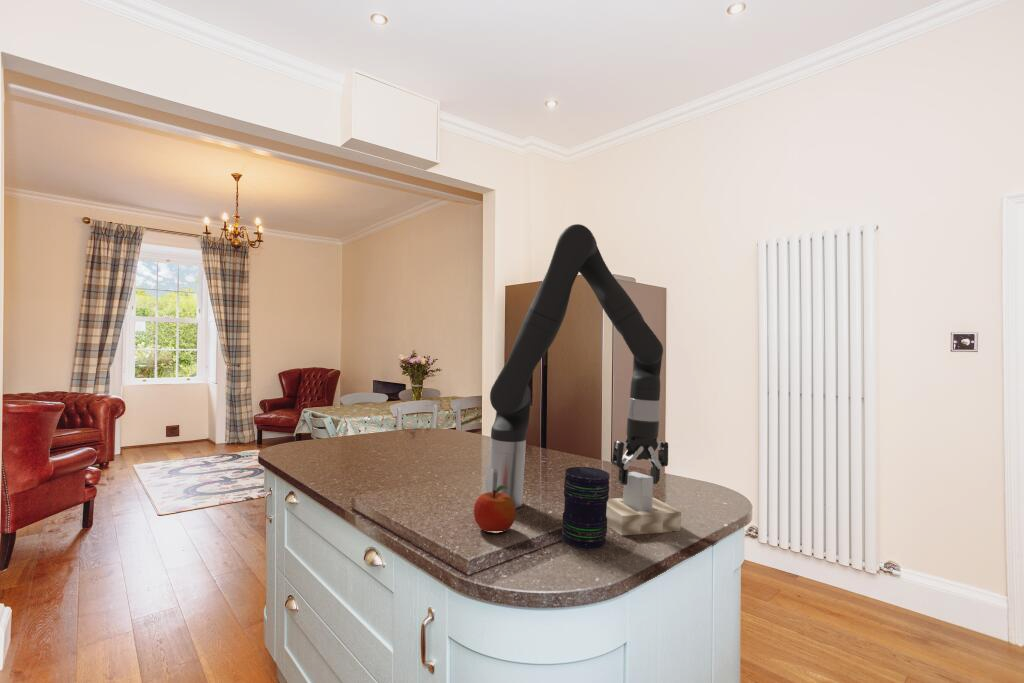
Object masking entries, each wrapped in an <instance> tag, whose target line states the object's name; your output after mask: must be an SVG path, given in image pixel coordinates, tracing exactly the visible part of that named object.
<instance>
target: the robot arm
mask: <svg viewBox="0 0 1024 683" xmlns="http://www.w3.org/2000/svg"><path fill="white" fill-rule="evenodd" d="M579 273H580V275H581V276H582V277H583V279H584V280H585V282H587V284H588V285H589V287H590V288H591V290H592V291H593V293H594V295H595V297H596V298H597V301H598V302H599V304H600V306H601V308H602V310H603V311H604V312H605V314H606V316H607V317H608V318H609V321H610V322H611V323H612V325H613V326H614V327H615V329H616V331H617V332H618V333H619V335H621V337H622V338H623V340H624V342H625V344H626V346H627V348H628V349H629V350H630V352H631V354H632V355H633V359H632V360H633V363H632V365H633V366H632V367H633V368H632V378H631V383H630V389H629V390H630V391H629V393H630V395H629V403H628V407H627V422H626V440H625V441H622V440H621V441H620V440H618V439H616V440H615V441H614V442H613V452H612V458H611V459H612V460H611V464H612V465H614V466H616V467H617V468H618V481H619V484H622V485H623V486H624V485H627V479H628V472H629V469H628V468H630V466H631V464H632V463H634V462H635V461H636V460H637V461H638V460H639V461H640V460H646V461H649V462H650V464H651V467H650V475H649V476H651V477H653V485H658V484H659V481H660V476H661V469H662V468H663V467H668V465H669V443H668V442H667V441H664V440H661V439H660V440H659V441H658V437H659V430H660V429H659V428H660V415H661V407H660V405H661V404H660V403H661V402H660V397H661V371H662V370H661V369H662V361H663V354H664V347H663V344H662V342H661V340H660V339H659V338H658V337H657V335H656V334H655V332H654V331H653V330H652V329H651V327H650V326H649V325H648V324H647V322H646V321H645V319H644V317H643V315H642V314H641V311H639V310H640V309H638V307H637V305H636V304H635V303H634V301H633V299H632V298H631V297H630V295H629V294H628V293H627V291H626V290H625V289H624V288H623V286H622V285H621V284H620V282H618V280H617V279H616V278H615V276H614V274H612V272H611V271H610V269H609V267H608V266H607V264H606V262H605V261H604V257H603V255H602V254H601V251H600V250H599V247H598V244H597V240H596V238H595V236H594V234H593V232H592V231H591V230H590V229H589V228H588V227H587V226H585V225H584V224H581V223H580V224H578V223H577V224H572V225H569V226H568V227H566V228H564V230H563V231H562V232H561V233H560V234H559V237H558V239H557V242H556V245H555V248H554V251H553V254H552V257H551V260H550V263H549V266H548V269H547V272H546V273H545V275H544V277H543V280H542V281H541V283H540V285H539V287H538V288H537V291H536V293H535V296H534V297H533V300H532V301H531V304H530V306H529V307H528V310H527V312H526V315H525V317H524V319H523V321H522V324H521V327H520V328H519V331H518V333H517V336H516V339H514V340H515V341H514V342H513V343H514V344H513V346H512V349H511V351H510V354H509V356H508V358H507V360H506V362H505V364H504V366H503V368H502V369H501V371H500V372H499V374H498V376H497V378H495V379H496V380H495V381H494V383H493V385H492V386H491V390H490V392H489V400H490V404H491V406H492V408H493V409H494V411H496V412H495V420H494V422H493V424H492V426H491V430H490V445H489V446H490V447H489V448H490V449H489V462H488V464H487V465H486V475H485V476H486V477H485V493H489V492H493V490H496V487H498V486H500V485H502V486H507V487H508V488H509V489H508V488H504V489H502V490H500V491H499V493H504V494H506V495H508V496H510V497H511V498H512V500H513V501H514V503H515V508H516V509H518V507H519V508H521V507H522V506H523V497H524V496H523V495H524V479H525V478H524V477H525V460H526V456H525V455H526V446H527V443H526V442H527V431H528V428H529V423H530V415H531V414H530V413H531V398H532V397H531V395H532V394H531V389H530V386H529V382H530V381H531V378H532V375H533V373H534V371H535V369H536V367H537V366H538V364H539V363H540V361H541V360H542V358H543V357H544V356H545V354H546V353H547V351H549V349H550V347H551V346H552V344H553V342H554V341H555V339H556V337H557V335H558V333H559V331H560V329H561V326H562V324H563V322H564V319H565V317H566V313H567V310H568V306H569V301H570V297H571V292H572V289H573V286H574V283H575V281H576V278H577V276H578V275H579ZM625 449H626V450H625ZM656 450H657V452H658V454H656V452H655V451H656ZM624 451H625V452H624Z"/></svg>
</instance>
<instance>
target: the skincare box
mask: <svg viewBox="0 0 1024 683" xmlns="http://www.w3.org/2000/svg"><path fill="white" fill-rule="evenodd" d="M622 492H623V494H622V495H623V497H622V498H623V504H625V505H626V506H628V507H630V508H631V509H633V510H635V511H636V512H641V511H652V502H653V497H654V496H653V495H654V484H653V477H651V476H650V475H647V474H643V473H641V472H638V471H630V472H629V471H628V479H627V485H623V491H622Z"/></svg>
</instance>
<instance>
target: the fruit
mask: <svg viewBox="0 0 1024 683" xmlns="http://www.w3.org/2000/svg"><path fill="white" fill-rule="evenodd" d="M504 488H508V487H507V486H502V485H500V486H498V487H496V490H493V492H489V493H481V495H479V496H478V497H477V499H476V500H475V502H474V505H473V506H474V507H473V517H474V520H475V522H476V523H475V524H477V526H478V527H479V529H481V530H482V531H484V530H486V531H504V530H507V529H508V530H509V529H510V528H511V527H512V526H513V524H514V522H515V520H516V513H517V512H516V511H517V510H516V509H517V508H515V503H514V501H513V500H512V498H511V497H510V496H508V495H506V494H504V493H499V491H500V490H502V489H504ZM508 489H509V488H508ZM508 530H507V531H508Z"/></svg>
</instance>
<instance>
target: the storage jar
mask: <svg viewBox="0 0 1024 683" xmlns="http://www.w3.org/2000/svg"><path fill="white" fill-rule="evenodd" d="M564 471H565V473H564V474H565V476H564V483H563V484H564V485H563V488H564V489H563V496H564V507H563V508H564V510H563V513H562V516H561V517H562V520H561V532H562V534H561V541H562V543H564V544H565V545H567V546H569V547H572V548H573V549H574V548H575V549H579V550H592V551H593V550H598V549H599V550H600V549H602V548H604V547H605V546H606V543H607V541H606V537H607V532H608V526H607V517H606V511H607V501H608V499H610V498H609V497H610V496H609V494H610V481H609V480H610V477H611V476H610V472H608V471H606V470H603V469H599V468H596V467H588V466H587V467H585V466H574V467H568V468H566V469H565V470H564Z"/></svg>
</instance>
